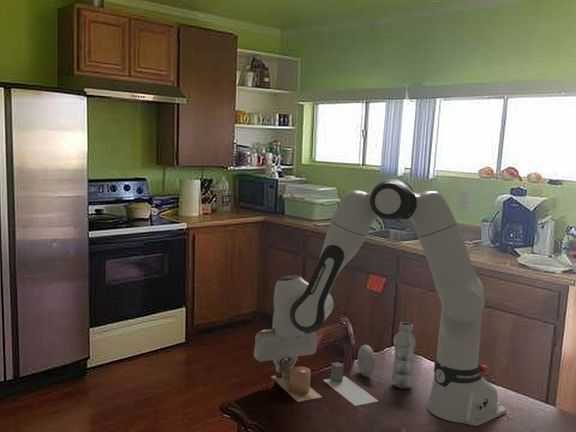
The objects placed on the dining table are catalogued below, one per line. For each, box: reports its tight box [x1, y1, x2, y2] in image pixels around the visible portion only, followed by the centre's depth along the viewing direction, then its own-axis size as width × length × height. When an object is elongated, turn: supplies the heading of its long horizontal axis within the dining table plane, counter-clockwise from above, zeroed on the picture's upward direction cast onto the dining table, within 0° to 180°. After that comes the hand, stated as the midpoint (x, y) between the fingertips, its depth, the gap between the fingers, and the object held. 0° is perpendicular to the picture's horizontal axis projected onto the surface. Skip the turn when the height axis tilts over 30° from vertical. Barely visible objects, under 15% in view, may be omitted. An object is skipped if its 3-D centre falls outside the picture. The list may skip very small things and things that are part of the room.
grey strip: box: [322, 361, 379, 407], centre depth 162 cm, size 8×18×6 cm, turn 26°
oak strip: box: [270, 358, 323, 403], centre depth 163 cm, size 8×18×6 cm, turn 26°
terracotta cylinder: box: [289, 365, 312, 394], centre depth 160 cm, size 6×6×6 cm
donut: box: [357, 344, 376, 378], centre depth 175 cm, size 10×3×10 cm, turn 10°
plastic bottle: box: [390, 321, 416, 390], centre depth 168 cm, size 6×7×20 cm
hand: (284, 370), depth 169 cm, fingers closed on oak strip, 2 cm apart
